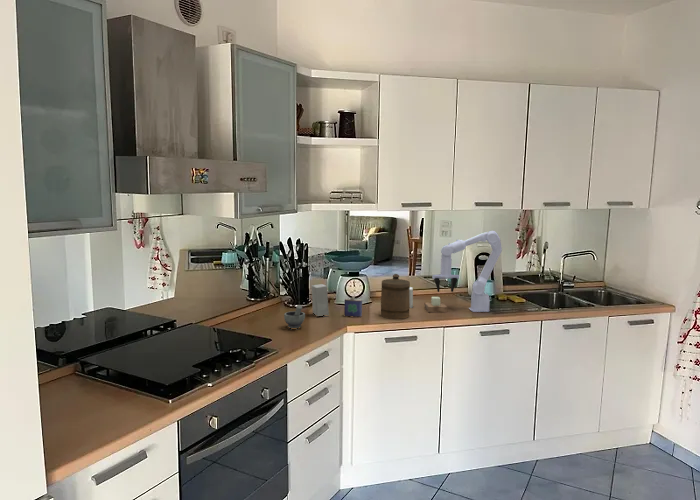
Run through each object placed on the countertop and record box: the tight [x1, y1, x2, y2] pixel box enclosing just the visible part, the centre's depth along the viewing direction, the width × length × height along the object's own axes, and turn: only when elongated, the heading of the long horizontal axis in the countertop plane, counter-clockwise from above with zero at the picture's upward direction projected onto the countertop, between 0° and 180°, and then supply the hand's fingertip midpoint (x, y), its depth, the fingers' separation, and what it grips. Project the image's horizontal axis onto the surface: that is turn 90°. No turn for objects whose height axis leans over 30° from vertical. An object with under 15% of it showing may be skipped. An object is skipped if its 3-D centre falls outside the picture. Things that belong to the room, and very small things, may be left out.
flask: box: [343, 295, 363, 318], centre depth 278 cm, size 9×3×11 cm, turn 78°
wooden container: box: [380, 273, 411, 320], centre depth 280 cm, size 15×15×22 cm
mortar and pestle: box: [283, 304, 306, 328], centre depth 255 cm, size 11×9×12 cm
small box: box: [409, 286, 414, 309], centre depth 301 cm, size 8×6×10 cm
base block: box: [424, 302, 448, 313], centre depth 293 cm, size 10×10×3 cm
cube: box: [430, 296, 441, 306], centre depth 293 cm, size 4×4×4 cm
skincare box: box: [311, 283, 330, 317], centre depth 279 cm, size 8×7×16 cm
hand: (445, 291), depth 297 cm, fingers open, 7 cm apart
